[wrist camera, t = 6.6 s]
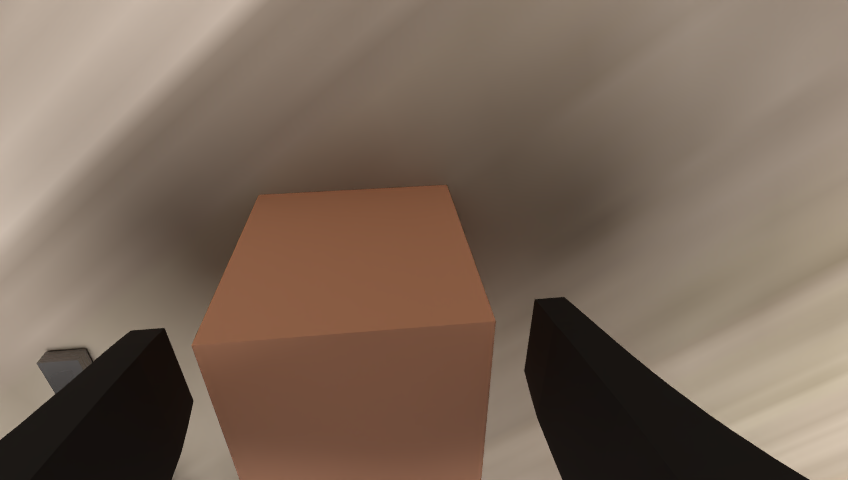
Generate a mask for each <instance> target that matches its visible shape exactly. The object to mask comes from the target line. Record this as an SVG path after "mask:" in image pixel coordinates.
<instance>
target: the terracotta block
mask: <svg viewBox="0 0 848 480" xmlns="http://www.w3.org/2000/svg"><path fill="white" fill-rule="evenodd" d="M495 324H496V321H495V318H494V315H493V312H492V310H491V307H490V304H489V301H488V298H487V296H486V293H485V290H484V287H483V284H482V282H481V279H480V276H479V273H478V270H477V268H476V265H475V262H474V259H473V256H472V254H471V251H470V248H469V245H468V243H467V240H466V237H465V234H464V231H463V229H462V226H461V223H460V220H459V217H458V215H457V212H456V209H455V206H454V203H453V201H452V198H451V195H450V192H449V189H448V187H447V185H434V186H415V187H396V188H378V189H359V190H340V191H322V192H303V193H284V194H265V195H258V198H257V200H256V202H255V204H254V207H253V209H252V211H251V213H250V216H249V218H248V220H247V222H246V224H245V227H244V229H243V231H242V233H241V236H240V238H239V240H238V242H237V245H236V247H235V249H234V251H233V254H232V256H231V258H230V260H229V263H228V265H227V267H226V269H225V272H224V274H223V276H222V278H221V281H220V283H219V285H218V287H217V289H216V292H215V294H214V296H213V298H212V301H211V303H210V305H209V307H208V310H207V312H206V314H205V316H204V319H203V321H202V323H201V325H200V328H199V330H198V332H197V334H196V337H195V339H194V341H193V343H192V348H193V351H194V354H195V357H196V359H197V362H198V365H199V368H200V371H201V373H202V376H203V379H204V382H205V384H206V387H207V390H208V393H209V396H210V398H211V401H212V404H213V407H214V409H215V412H216V415H217V418H218V421H219V423H220V426H221V429H222V432H223V434H224V437H225V440H226V443H227V446H228V448H229V451H230V454H231V457H232V459H233V462H234V465H235V468H236V471H237V473H238V476H239V479H240V480H481V476H482V465H483V454H484V443H485V432H486V421H487V410H488V400H489V389H490V378H491V367H492V356H493V345H494V334H495Z"/></svg>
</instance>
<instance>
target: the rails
mask: <svg viewBox="0 0 848 480" xmlns="http://www.w3.org/2000/svg"><path fill="white" fill-rule="evenodd" d="M91 363H92V360H91V359H90V357H89V355H88V353H87V351H86V349H78V350H66V351H53V352H45V354H44V355H43V356H42V357H41V359H40V360H39V361H38V362H37V365H38V366H39V368H40V370H41V371H42V373H43V374H44V376H45V378H46V379H47V381H48V383H49V384H50V386H51V388H52V389H53V391H54V392H55V394H56V393H57V392H59V391H60V390H61V389H62V388H63V387H64V386H66V385H67V384H68V383H69V382H70V381H71V380H73V379H74V378H75V377H76V376H77V375H78V374H80V373H81V372H82V371H83V370H84V369H85V368H87V367H88V366H89V365H90V364H91Z"/></svg>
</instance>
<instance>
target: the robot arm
mask: <svg viewBox="0 0 848 480" xmlns="http://www.w3.org/2000/svg"><path fill="white" fill-rule="evenodd" d="M524 371H525V375H526V379H527V383H528V387H529V390H530V394H531V398H532V401H533V405H534V408H535V412H536V415H537V418H538V421H539V423H540V426H541V428H542V431H543V433H544V436H545V438H546V441H547V443H548V446H549V448H550V451H551V453H552V456H553V458H554V460H555V463H556V465H557V468H558V470H559V473H560V475H561V477H562V480H809V479H807V478H806V477H804V476H802V475H801V474H799V473H797V472H796V471H794V470H792V469H791V468H789V467H788V466H786V465H784V464H783V463H781V462H779V461H778V460H776V459H775V458H773V457H772V456H770V455H769V454H767V453H766V452H764V451H762V450H761V449H759V448H758V447H756V446H755V445H753V444H752V443H750V442H749V441H747V440H746V439H744V438H743V437H741V436H740V435H738V434H737V433H735V432H734V431H732V430H730V429H729V428H728V427H726V426H725V425H723V424H722V423H720V422H719V421H718V420H716V419H715V418H713V417H712V416H710V415H709V414H708V413H706V412H705V411H703V410H702V409H701V408H699V407H698V406H697V405H695V404H694V403H693V402H691V401H690V400H689V399H687V398H686V397H685V396H683V395H682V394H681V393H679V392H678V391H677V390H675V389H674V388H672V387H671V386H670V385H669V384H667V383H666V382H665V381H664V380H662V379H661V378H660V377H658V376H657V375H656V374H655V373H653V372H652V371H651V370H650V369H648V368H647V367H646V366H645V365H643V364H642V363H641V362H640V361H639V360H637V359H636V358H635V357H634V356H632V355H631V354H630V353H629V352H628V351H626V350H625V349H624V348H623V347H622V346H620V345H619V344H618V343H617V342H616V341H615V340H613V339H612V338H611V337H610V336H609V335H608V334H606V333H605V332H604V331H603V330H602V329H601V328H599V327H598V326H597V325H596V324H595V323H594V322H593V321H591V320H590V319H589V318H588V317H587V316H586V315H585V314H583V313H582V312H581V311H580V310H579V309H578V308H576V307H575V306H574V305H573V304H572V303H571V302H569V301H568V300H567V299H566V298H565V297H559V298H546V299H535V301H534V308H533V315H532V322H531V329H530V336H529V342H528V349H527V356H526V363H525V370H524ZM192 406H193V398H192V396H191V393H190V391H189V388H188V386H187V383H186V381H185V378H184V376H183V373H182V371H181V368H180V366H179V363H178V361H177V358H176V356H175V353H174V351H173V348H172V346H171V343H170V341H169V338H168V336H167V333H166V331H165V328H159V329H146V330H133V331H130V332H129V333H127V334H126V335H125V336H123V337H122V338H121V339H120V340H118V341H117V342H116V343H115V344H114V345H112V346H111V347H110V348H109V349H108V350H106V351H105V352H104V353H103V354H102V355H101V356H99V357H98V358H97V359H96V360H95V361H94V362H92V363H91V364H90V365H89V366H88V367H87V368H85V369H84V370H83V371H82V372H81V373H80V374H78V375H77V376H76V377H75V378H74V379H73V380H71V381H70V382H69V383H68V384H67V385H66V386H64V387H63V388H62V389H61V390H60V391H59V392H57V393H56V394H55V395H54V396H53V397H52V398H50V399H49V400H48V401H47V402H46V403H44V404H43V405H42V406H41V407H40V408H39V409H37V410H36V411H35V412H34V413H33V414H31V415H30V416H29V417H28V418H27V419H26V420H24V421H23V422H22V423H21V424H20V425H18V426H17V427H16V428H15V429H13V430H12V431H11V432H10V433H8V434H7V435H6V436H5V437H3V438H2V439H1V440H0V480H171V479H172V477H173V474H174V471H175V469H176V466H177V463H178V460H179V458H180V455H181V452H182V448H183V444H184V440H185V436H186V432H187V428H188V424H189V419H190V415H191V410H192Z"/></svg>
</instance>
